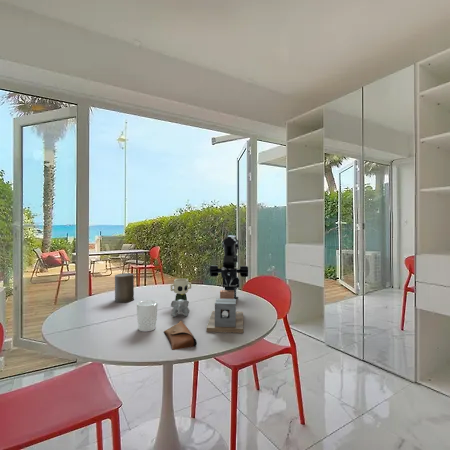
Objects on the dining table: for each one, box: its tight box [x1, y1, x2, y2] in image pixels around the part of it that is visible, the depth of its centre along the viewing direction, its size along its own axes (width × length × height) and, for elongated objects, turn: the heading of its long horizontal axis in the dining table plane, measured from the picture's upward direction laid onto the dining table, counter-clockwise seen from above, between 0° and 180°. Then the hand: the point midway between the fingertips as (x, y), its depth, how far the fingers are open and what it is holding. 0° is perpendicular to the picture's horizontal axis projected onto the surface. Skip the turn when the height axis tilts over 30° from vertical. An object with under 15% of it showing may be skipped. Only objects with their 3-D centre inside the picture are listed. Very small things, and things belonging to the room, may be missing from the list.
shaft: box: [219, 289, 234, 318], centre depth 115 cm, size 17×6×10 cm, turn 176°
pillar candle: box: [114, 272, 135, 303], centre depth 150 cm, size 10×10×15 cm
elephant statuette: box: [170, 299, 190, 318], centre depth 124 cm, size 9×12×8 cm
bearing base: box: [205, 298, 244, 334], centre depth 117 cm, size 21×14×10 cm, turn 176°
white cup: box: [136, 299, 158, 333], centre depth 110 cm, size 8×8×10 cm
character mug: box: [170, 278, 192, 301], centre depth 140 cm, size 11×7×13 cm, turn 119°
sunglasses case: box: [163, 320, 198, 351], centre depth 101 cm, size 18×7×7 cm
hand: (228, 286), depth 131 cm, fingers closed
